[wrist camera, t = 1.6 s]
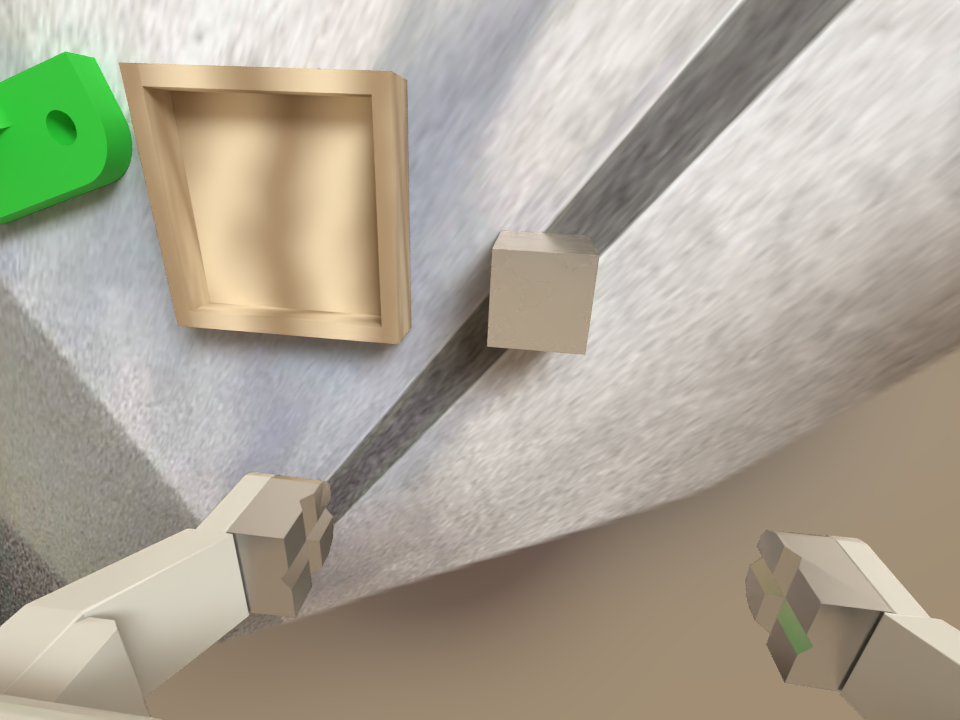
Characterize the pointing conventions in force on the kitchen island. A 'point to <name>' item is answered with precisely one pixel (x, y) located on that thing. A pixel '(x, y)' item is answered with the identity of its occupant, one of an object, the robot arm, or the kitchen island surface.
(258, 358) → the kitchen island surface
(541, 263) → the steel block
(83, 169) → the mechanical part
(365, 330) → the tray
